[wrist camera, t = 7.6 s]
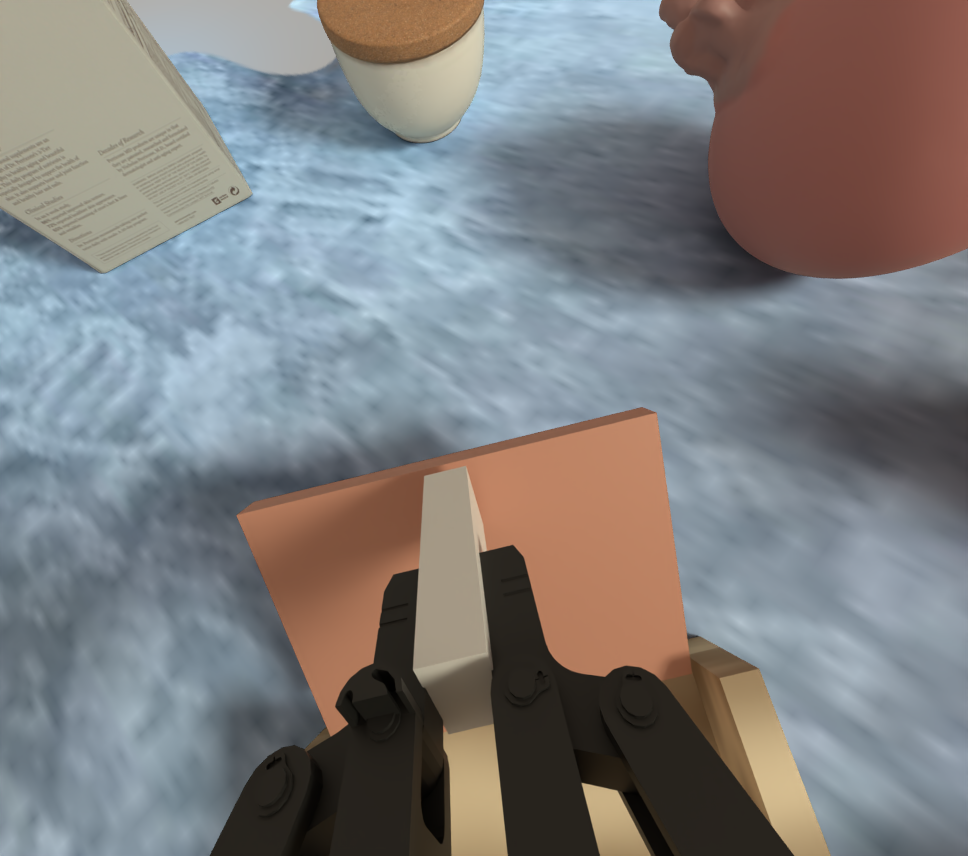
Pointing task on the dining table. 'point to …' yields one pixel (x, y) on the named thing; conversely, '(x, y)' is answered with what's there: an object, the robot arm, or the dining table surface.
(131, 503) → the dining table surface
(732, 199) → the balloon
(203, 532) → the dining table surface
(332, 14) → the lidded jar
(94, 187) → the supplement box
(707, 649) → the tray
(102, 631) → the dining table surface
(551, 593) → the panel
